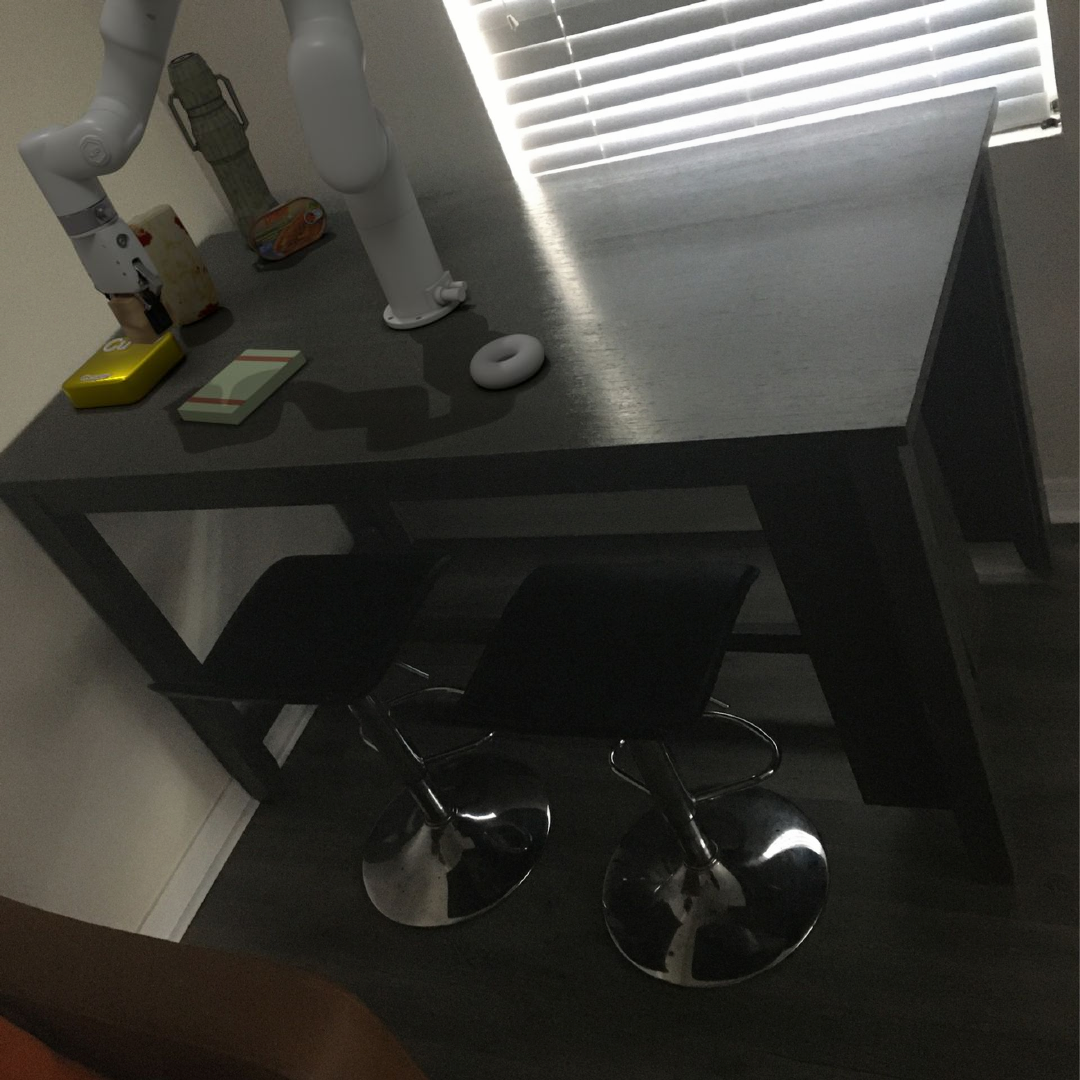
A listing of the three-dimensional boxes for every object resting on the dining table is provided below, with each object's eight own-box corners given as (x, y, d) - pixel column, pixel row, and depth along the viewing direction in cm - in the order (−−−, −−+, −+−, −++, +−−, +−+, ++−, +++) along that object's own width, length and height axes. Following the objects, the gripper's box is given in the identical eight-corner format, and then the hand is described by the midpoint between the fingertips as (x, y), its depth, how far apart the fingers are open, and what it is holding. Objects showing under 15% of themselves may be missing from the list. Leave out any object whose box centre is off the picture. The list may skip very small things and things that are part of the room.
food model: (183, 334, 186) (122, 227, 174) (171, 325, 191) (111, 221, 179) (232, 306, 189) (175, 199, 177) (219, 299, 194) (162, 194, 182)
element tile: (70, 410, 175) (53, 385, 172) (124, 359, 185) (109, 335, 182) (138, 404, 169) (121, 378, 166) (190, 352, 179) (175, 327, 176)
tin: (264, 268, 199) (243, 226, 194) (259, 264, 202) (238, 222, 197) (334, 231, 203) (315, 189, 198) (329, 228, 205) (310, 186, 200)
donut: (463, 378, 143) (494, 403, 135) (454, 356, 141) (484, 379, 133) (527, 343, 145) (561, 366, 137) (519, 321, 143) (553, 342, 135)
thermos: (303, 228, 210) (218, 45, 189) (249, 256, 207) (157, 73, 186) (289, 219, 217) (205, 42, 196) (237, 246, 214) (146, 68, 193)
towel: (306, 361, 162) (300, 349, 160) (238, 424, 152) (231, 412, 151) (252, 360, 168) (246, 348, 167) (183, 420, 159) (176, 409, 158)
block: (179, 322, 163) (156, 281, 159) (152, 344, 159) (127, 302, 155) (158, 322, 166) (135, 281, 161) (131, 343, 162) (106, 302, 158)
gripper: (145, 201, 149) (206, 316, 160) (72, 207, 158) (135, 315, 169) (105, 227, 144) (172, 343, 155) (33, 232, 154) (100, 341, 165)
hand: (152, 328), depth 162 cm, fingers closed on block, 5 cm apart
